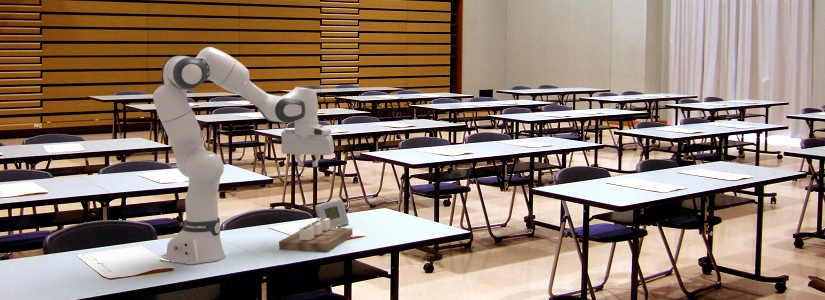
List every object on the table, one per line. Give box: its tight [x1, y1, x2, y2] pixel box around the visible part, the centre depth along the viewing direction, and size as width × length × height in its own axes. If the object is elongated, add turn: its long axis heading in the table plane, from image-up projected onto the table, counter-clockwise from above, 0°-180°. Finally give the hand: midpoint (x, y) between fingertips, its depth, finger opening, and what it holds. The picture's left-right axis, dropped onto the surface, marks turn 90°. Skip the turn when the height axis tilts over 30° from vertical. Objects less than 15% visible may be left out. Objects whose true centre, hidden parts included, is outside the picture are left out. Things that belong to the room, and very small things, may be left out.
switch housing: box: [278, 227, 354, 253], centre depth 319 cm, size 19×26×3 cm
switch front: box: [298, 224, 314, 240], centre depth 311 cm, size 4×4×5 cm
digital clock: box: [314, 198, 350, 228], centre depth 345 cm, size 16×9×11 cm, turn 134°
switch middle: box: [307, 220, 322, 235], centre depth 319 cm, size 4×4×5 cm
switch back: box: [315, 217, 330, 231], centre depth 327 cm, size 4×4×5 cm
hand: (308, 166), depth 317 cm, fingers open, 4 cm apart
